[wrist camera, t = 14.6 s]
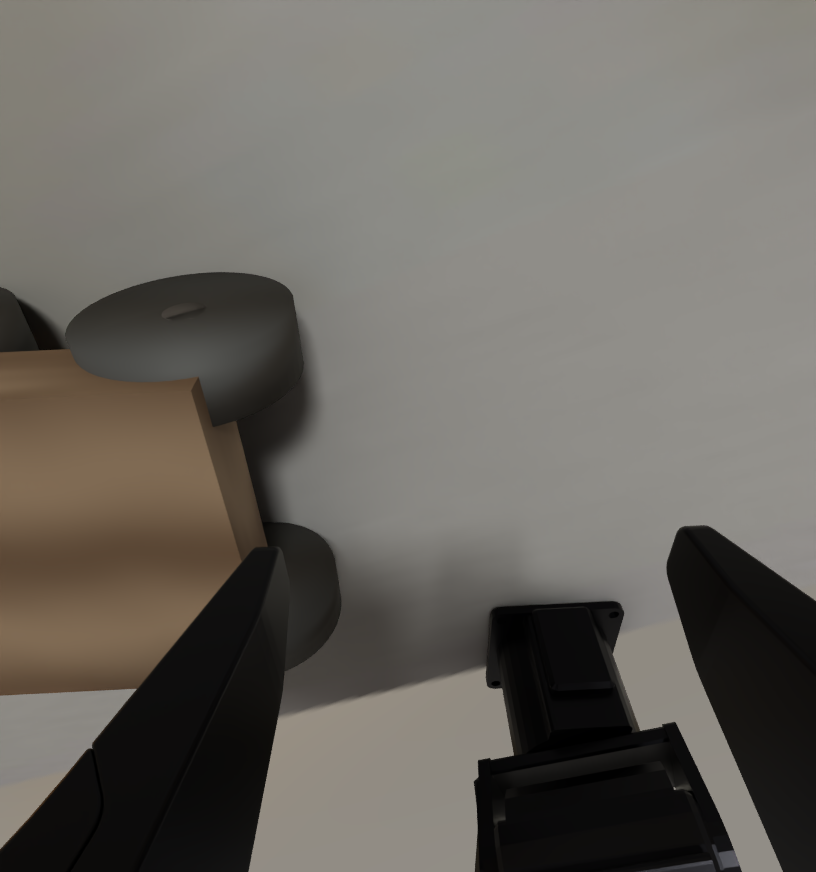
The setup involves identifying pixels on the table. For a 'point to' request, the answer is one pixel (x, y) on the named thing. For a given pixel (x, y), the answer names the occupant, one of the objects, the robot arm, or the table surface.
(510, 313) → the table surface
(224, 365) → the trolley
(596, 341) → the table surface
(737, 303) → the table surface
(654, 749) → the robot arm
